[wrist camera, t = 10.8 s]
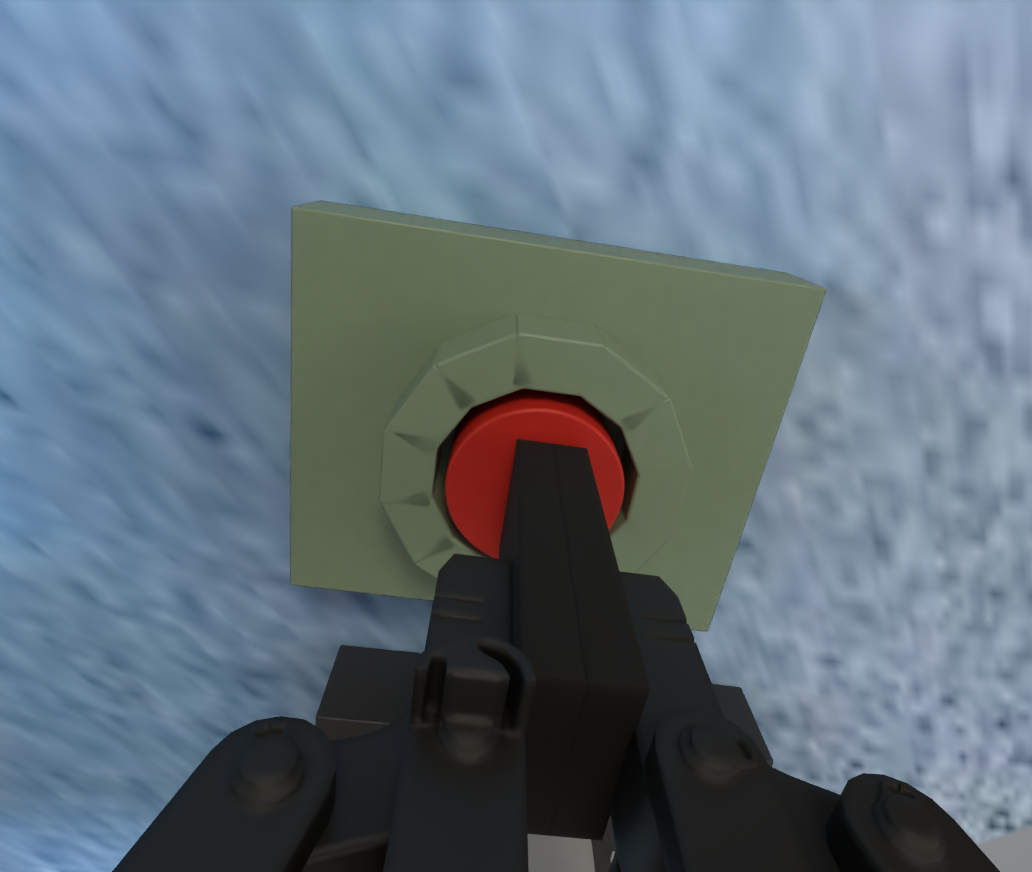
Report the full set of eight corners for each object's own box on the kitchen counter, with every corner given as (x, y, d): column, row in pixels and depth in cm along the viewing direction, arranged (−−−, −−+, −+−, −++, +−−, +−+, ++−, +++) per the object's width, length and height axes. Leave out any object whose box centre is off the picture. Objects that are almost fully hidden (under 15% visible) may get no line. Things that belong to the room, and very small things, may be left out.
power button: (442, 517, 16) (435, 557, 14) (460, 370, 14) (454, 396, 13) (595, 535, 16) (604, 576, 15) (628, 393, 15) (643, 422, 13)
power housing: (312, 541, 19) (266, 630, 16) (319, 199, 15) (259, 212, 12) (688, 585, 20) (728, 679, 16) (787, 273, 16) (870, 306, 12)
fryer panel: (331, 836, 25) (308, 925, 22) (340, 644, 21) (313, 721, 18) (671, 865, 26) (691, 953, 23) (741, 686, 22) (776, 766, 19)
